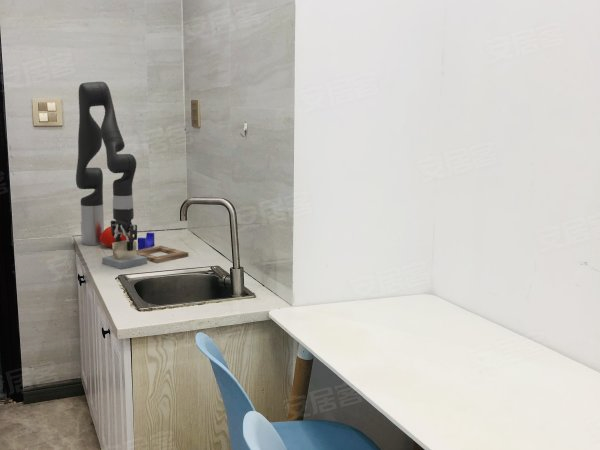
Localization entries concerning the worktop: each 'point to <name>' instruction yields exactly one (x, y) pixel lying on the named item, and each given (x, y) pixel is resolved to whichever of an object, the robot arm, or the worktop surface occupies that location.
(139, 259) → the plinth
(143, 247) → the cable clip
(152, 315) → the worktop surface
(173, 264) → the worktop surface
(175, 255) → the board
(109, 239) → the tomato
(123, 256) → the ash block
